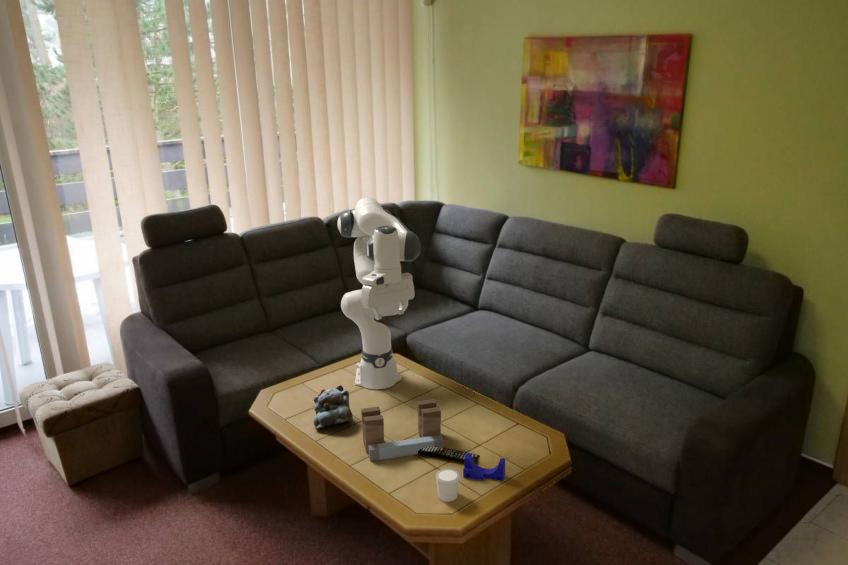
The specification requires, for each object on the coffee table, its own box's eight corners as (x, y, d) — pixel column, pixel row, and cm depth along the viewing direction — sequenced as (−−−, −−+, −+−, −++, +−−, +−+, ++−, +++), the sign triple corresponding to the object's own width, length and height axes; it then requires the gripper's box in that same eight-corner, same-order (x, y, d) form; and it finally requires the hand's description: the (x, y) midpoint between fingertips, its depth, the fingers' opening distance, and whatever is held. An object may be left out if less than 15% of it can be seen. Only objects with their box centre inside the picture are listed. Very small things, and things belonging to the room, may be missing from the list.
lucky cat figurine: (306, 430, 225) (301, 390, 227) (324, 427, 236) (320, 389, 238) (344, 425, 219) (339, 383, 222) (361, 422, 230) (356, 382, 233)
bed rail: (368, 456, 209) (368, 445, 208) (440, 445, 214) (440, 434, 213) (370, 461, 206) (369, 450, 205) (443, 450, 212) (443, 439, 210)
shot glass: (431, 493, 190) (431, 473, 188) (451, 485, 193) (450, 465, 191) (444, 506, 184) (444, 485, 182) (464, 497, 188) (464, 476, 186)
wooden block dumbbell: (362, 440, 218) (361, 408, 214) (435, 430, 223) (434, 398, 220) (366, 453, 210) (364, 421, 207) (441, 442, 216) (440, 410, 212)
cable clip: (463, 477, 197) (463, 460, 195) (466, 469, 201) (466, 452, 200) (502, 484, 194) (502, 467, 192) (505, 476, 198) (505, 458, 196)
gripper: (405, 270, 224) (407, 309, 226) (357, 279, 210) (359, 320, 213) (417, 272, 219) (419, 312, 222) (369, 281, 206) (371, 324, 208)
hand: (389, 316), depth 217 cm, fingers open, 8 cm apart
